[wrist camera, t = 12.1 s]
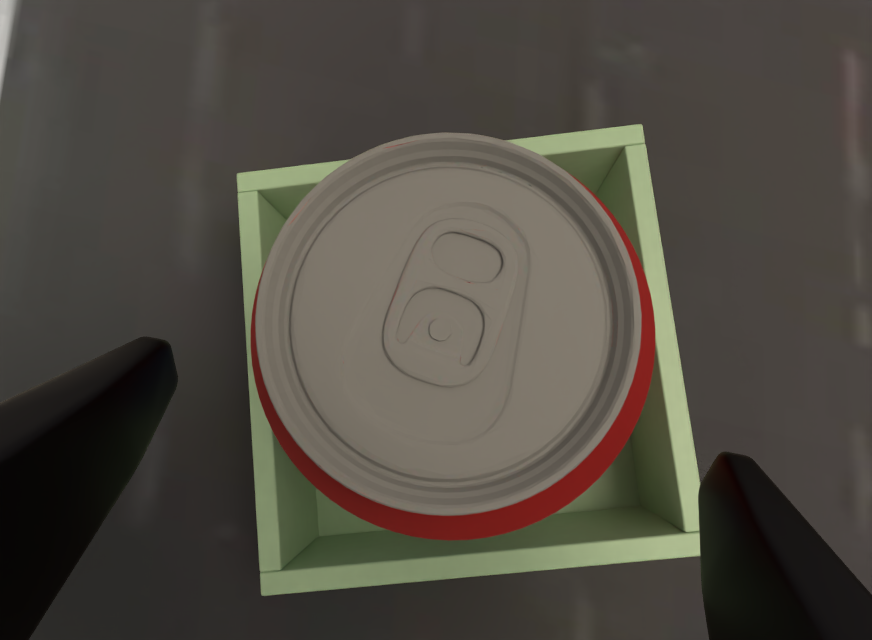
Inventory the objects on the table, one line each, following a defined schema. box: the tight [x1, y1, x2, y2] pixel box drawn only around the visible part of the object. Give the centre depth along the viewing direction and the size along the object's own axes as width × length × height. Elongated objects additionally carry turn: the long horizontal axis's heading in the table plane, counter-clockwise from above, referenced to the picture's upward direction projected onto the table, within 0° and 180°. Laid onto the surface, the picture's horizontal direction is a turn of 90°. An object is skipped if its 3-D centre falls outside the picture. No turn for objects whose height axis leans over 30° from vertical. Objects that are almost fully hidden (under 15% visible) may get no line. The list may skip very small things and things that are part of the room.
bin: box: [237, 124, 700, 596], centre depth 18 cm, size 12×12×4 cm
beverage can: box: [251, 132, 655, 541], centre depth 14 cm, size 7×7×12 cm
